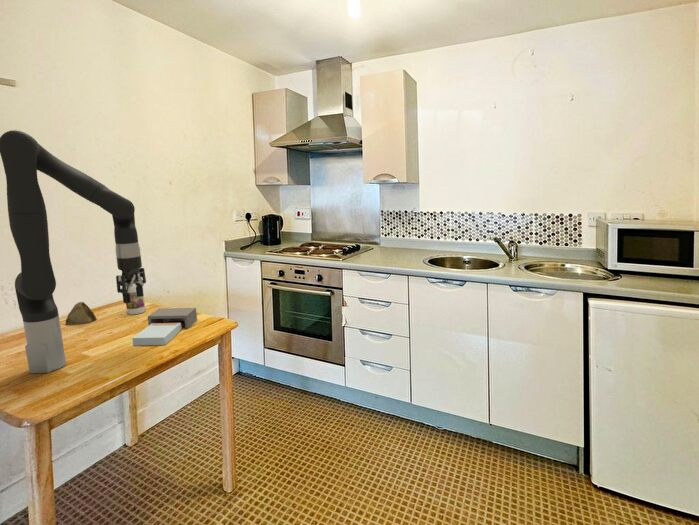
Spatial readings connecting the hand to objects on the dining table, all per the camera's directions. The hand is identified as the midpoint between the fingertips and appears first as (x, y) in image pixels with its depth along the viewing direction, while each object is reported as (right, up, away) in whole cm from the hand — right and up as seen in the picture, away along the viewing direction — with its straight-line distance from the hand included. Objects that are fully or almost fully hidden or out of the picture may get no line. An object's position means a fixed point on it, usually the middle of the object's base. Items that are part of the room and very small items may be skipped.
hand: (134, 299), depth 141 cm
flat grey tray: (+2, -16, +15) cm, 22 cm away
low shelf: (+1, -14, +29) cm, 32 cm away
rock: (-42, -13, +33) cm, 55 cm away
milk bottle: (-24, -11, +47) cm, 54 cm away
